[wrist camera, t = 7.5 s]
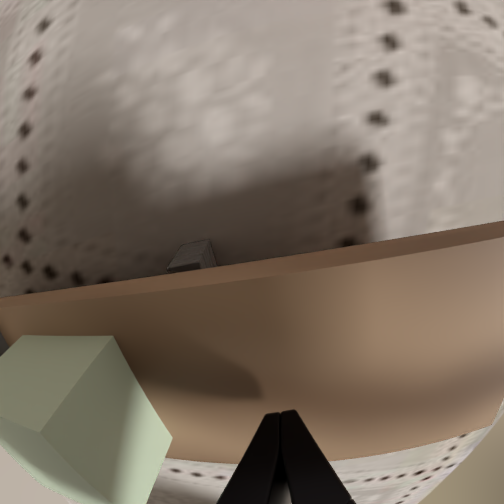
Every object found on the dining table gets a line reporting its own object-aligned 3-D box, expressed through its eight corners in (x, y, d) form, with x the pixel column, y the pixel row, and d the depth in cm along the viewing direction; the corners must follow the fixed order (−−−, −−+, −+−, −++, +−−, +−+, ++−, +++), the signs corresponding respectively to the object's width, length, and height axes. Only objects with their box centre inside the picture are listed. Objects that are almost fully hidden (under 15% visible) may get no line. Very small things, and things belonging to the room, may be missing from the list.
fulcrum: (259, 401, 14) (259, 434, 12) (238, 403, 14) (236, 436, 12) (209, 239, 11) (198, 261, 9) (181, 245, 11) (166, 268, 9)
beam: (484, 407, 9) (498, 443, 7) (72, 423, 14) (56, 448, 12) (525, 216, 6) (566, 242, 5) (-5, 298, 11) (-33, 320, 9)
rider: (172, 437, 10) (138, 523, 7) (80, 422, 11) (41, 485, 8) (113, 335, 9) (39, 432, 5) (22, 334, 10) (-39, 397, 6)
